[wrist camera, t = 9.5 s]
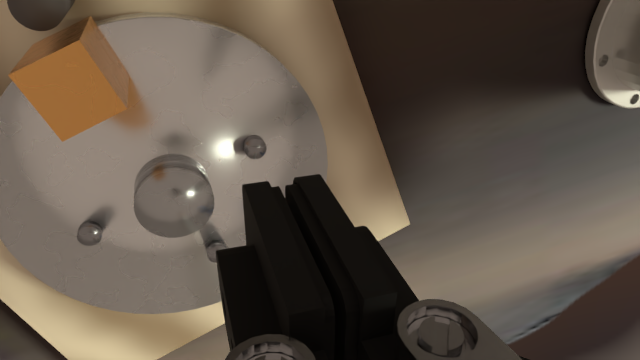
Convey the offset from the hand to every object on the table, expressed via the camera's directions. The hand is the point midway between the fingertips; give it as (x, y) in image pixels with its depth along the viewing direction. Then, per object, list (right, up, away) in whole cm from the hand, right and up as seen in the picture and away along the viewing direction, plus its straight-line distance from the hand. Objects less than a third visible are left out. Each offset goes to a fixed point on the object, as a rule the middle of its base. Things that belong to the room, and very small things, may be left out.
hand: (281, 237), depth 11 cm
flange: (-8, +2, +17) cm, 19 cm away
